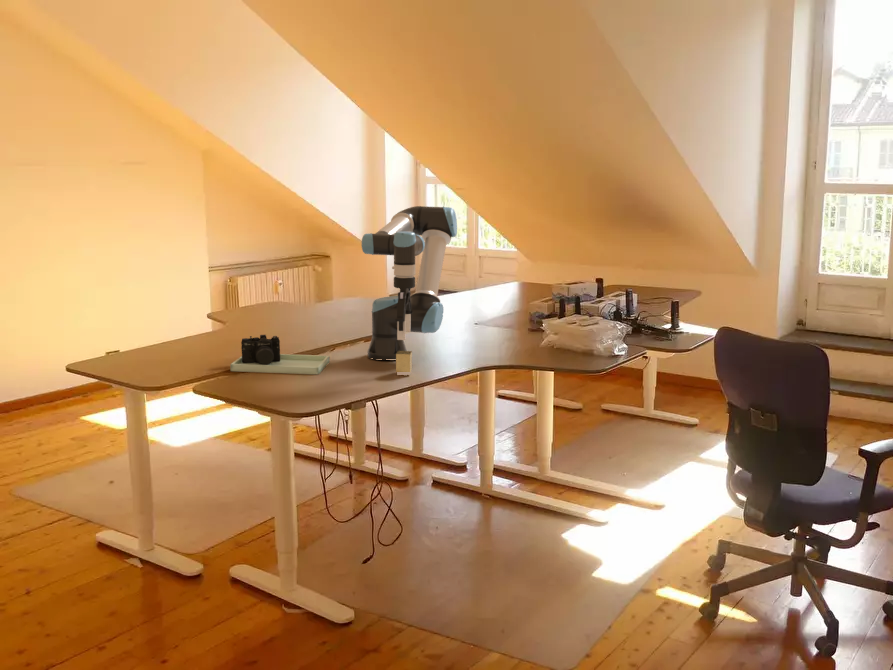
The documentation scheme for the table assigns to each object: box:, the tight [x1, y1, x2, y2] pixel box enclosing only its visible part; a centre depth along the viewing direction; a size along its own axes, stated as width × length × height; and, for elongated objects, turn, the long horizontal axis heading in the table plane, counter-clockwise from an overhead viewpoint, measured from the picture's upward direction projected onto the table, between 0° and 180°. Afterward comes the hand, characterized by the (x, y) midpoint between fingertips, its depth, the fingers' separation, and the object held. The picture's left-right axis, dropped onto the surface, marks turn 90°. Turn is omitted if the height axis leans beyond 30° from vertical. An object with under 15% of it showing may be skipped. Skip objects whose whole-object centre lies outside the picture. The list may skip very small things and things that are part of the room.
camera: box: [240, 334, 281, 365], centre depth 323 cm, size 14×11×10 cm
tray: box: [230, 353, 331, 375], centre depth 323 cm, size 18×32×2 cm, turn 85°
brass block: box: [395, 350, 413, 373], centre depth 315 cm, size 5×5×8 cm
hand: (404, 335), depth 312 cm, fingers open, 13 cm apart
